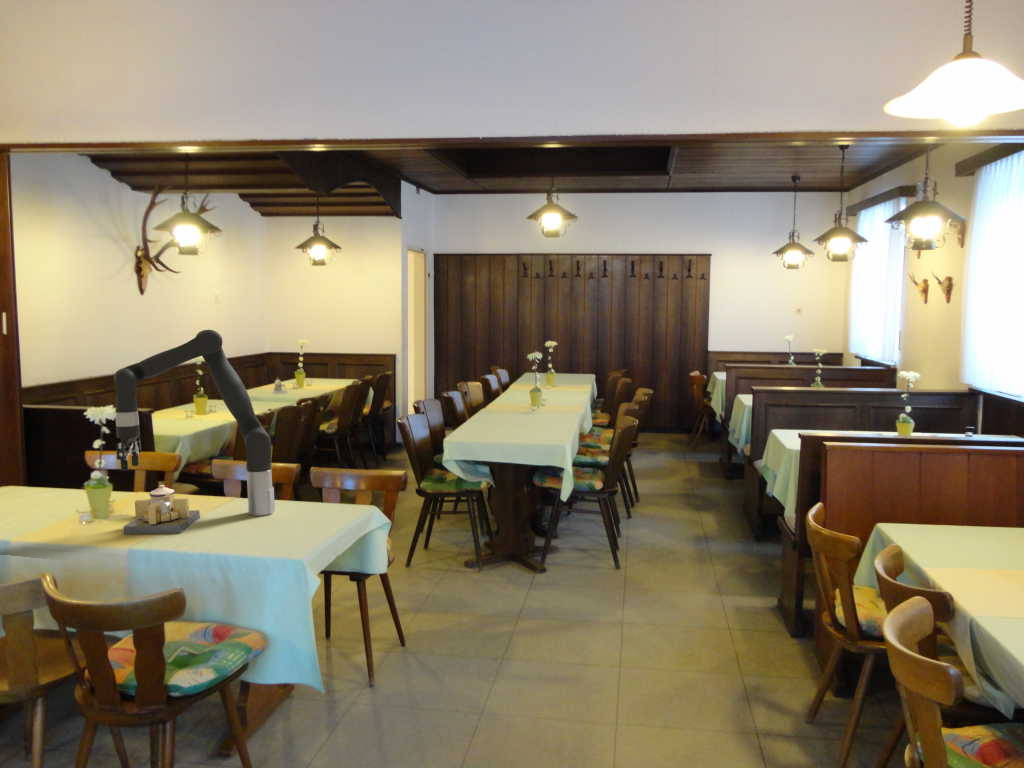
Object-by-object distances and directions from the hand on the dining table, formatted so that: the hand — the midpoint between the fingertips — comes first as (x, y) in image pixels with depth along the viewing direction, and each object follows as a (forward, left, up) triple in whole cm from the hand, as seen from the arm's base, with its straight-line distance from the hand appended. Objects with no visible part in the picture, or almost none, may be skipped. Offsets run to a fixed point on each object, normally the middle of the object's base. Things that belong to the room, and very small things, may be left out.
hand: (130, 468), depth 290 cm
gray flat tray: (-9, -4, -23) cm, 25 cm away
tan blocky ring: (-9, -4, -20) cm, 22 cm away
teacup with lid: (-3, -22, -23) cm, 32 cm away
